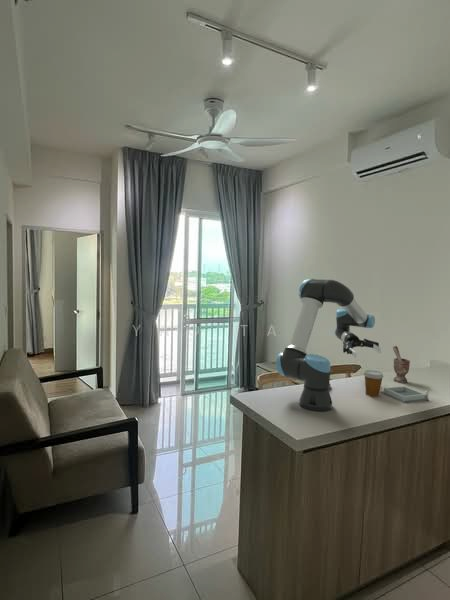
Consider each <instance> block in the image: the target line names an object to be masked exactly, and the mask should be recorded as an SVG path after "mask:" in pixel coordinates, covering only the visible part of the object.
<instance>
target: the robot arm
mask: <svg viewBox="0 0 450 600" xmlns="http://www.w3.org/2000/svg"><path fill="white" fill-rule="evenodd" d="M298 296H299V298H300V302H301V307H300V311H299V312H298V313H299V314H298V316H297V319H296V323H295V326H294V329H293V333H292V336H291V339H290V341H289V345H287V346H286V347H285V348H284V350H283V351H281V352H279V353H278V354H277V356H276V360H275V368H276V371H277V373H278V374H279V375H280V376H282V377H286V378H290V379H295V380H297V381H298V380H299V381H302V382H303V388H302V389H303V390H302V391H301V394H300V397H299V402H298V405H299V406H300V407H302V408H303V409H305V410H309V411H313V412H328V411H330V410H332V408H333V401H332V396H331V393H330V387H329V383H330V382H331V381H330V380H331V379H330V378H331V362H330V360H329V359H328V358H327V357H325V356H322V355H319V354H314V353H313V354H312V353H310V354H309V353H307V348H308V345H309V342H310V337H311V335H312V332H313V328H314V325H315V322H316V319H317V315H318V312H319V309H322V307H323V305H324V303H332V304H336V305H338V306H340V307H342V308H338V309H337V310H336V311H335V314H336V315H335V319H336V321H335V322H336V327H335V329H334V335H335V337H336V338H337V339H339V340H340V341H342V351H343V353H344V354H345V353H346V354H347V355H349V354H350V355H351V356H352V357H354V358H357V351H356V350H354V348H357V347H358V348H359V347H360V348H364V347H365V348H371V349H373V350H374V351H376V353H378V354H382V348H381V347H380V343H379V342H377V341H373V340H370V339H367V338H363V339H362V340H361V339H360V338H359V336H358V335H356V334H354V333H353V332H352V331H351V330H350V327H357V328H365V329H373V328H374V327H375V323H376V317H375V316H374V315H371V314H367V313H366V311H365V310H364V309H363V307H362V306H361V305H360V304H359V302H358V301H357V300H356V299H355V296H354V292H352V291H351V289H350V288H349V287H347V285H345V284H344V283H341V282H340V281H338V280H334V279H319V278H318V279H317V278H309V279H305V280H303V281H302V283H301V284H300V286H299V289H298Z"/></svg>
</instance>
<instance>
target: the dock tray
mask: <svg viewBox="0 0 450 600" xmlns="http://www.w3.org/2000/svg"><path fill="white" fill-rule="evenodd" d="M380 394H383V395H385V396H387V397H389V398H392V399H394V400H396V401H398V402H401V403H402V404H409V403H417V402H424V401H425V402H426V401H427V400H428V401H429V400H430V399H429V390H425V393H423V392H421V391H418V390H416V389H413V388H410V387H408V386H405V385H401V386H391V387H383V391H381V390H380Z"/></svg>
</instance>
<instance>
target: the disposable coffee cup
mask: <svg viewBox="0 0 450 600" xmlns="http://www.w3.org/2000/svg"><path fill="white" fill-rule="evenodd" d="M363 375H364V384H365V385H364V386H365V395H366V396H369V397H372V398H378V397H380V394H381V387H382V383H383V378H384V374H383V372H382V371H379V370H373V369H369V370H368V369H367V370H365V371H364V373H363Z"/></svg>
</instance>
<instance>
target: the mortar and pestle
mask: <svg viewBox="0 0 450 600" xmlns="http://www.w3.org/2000/svg"><path fill="white" fill-rule="evenodd" d="M392 350H393V352H394V354H395V356H396V358H393V372H394V373H395V374H396V376H394V378H393V381H394V382H397V383H401V384H405V383H408V379H407V378H406V375H407V374H408V373H409V371H410V363H411V360H410V359H408V358H407V359H406V358H402V357H401V354H400V351H399V347H398V346H397V345H395V346H392Z"/></svg>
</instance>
